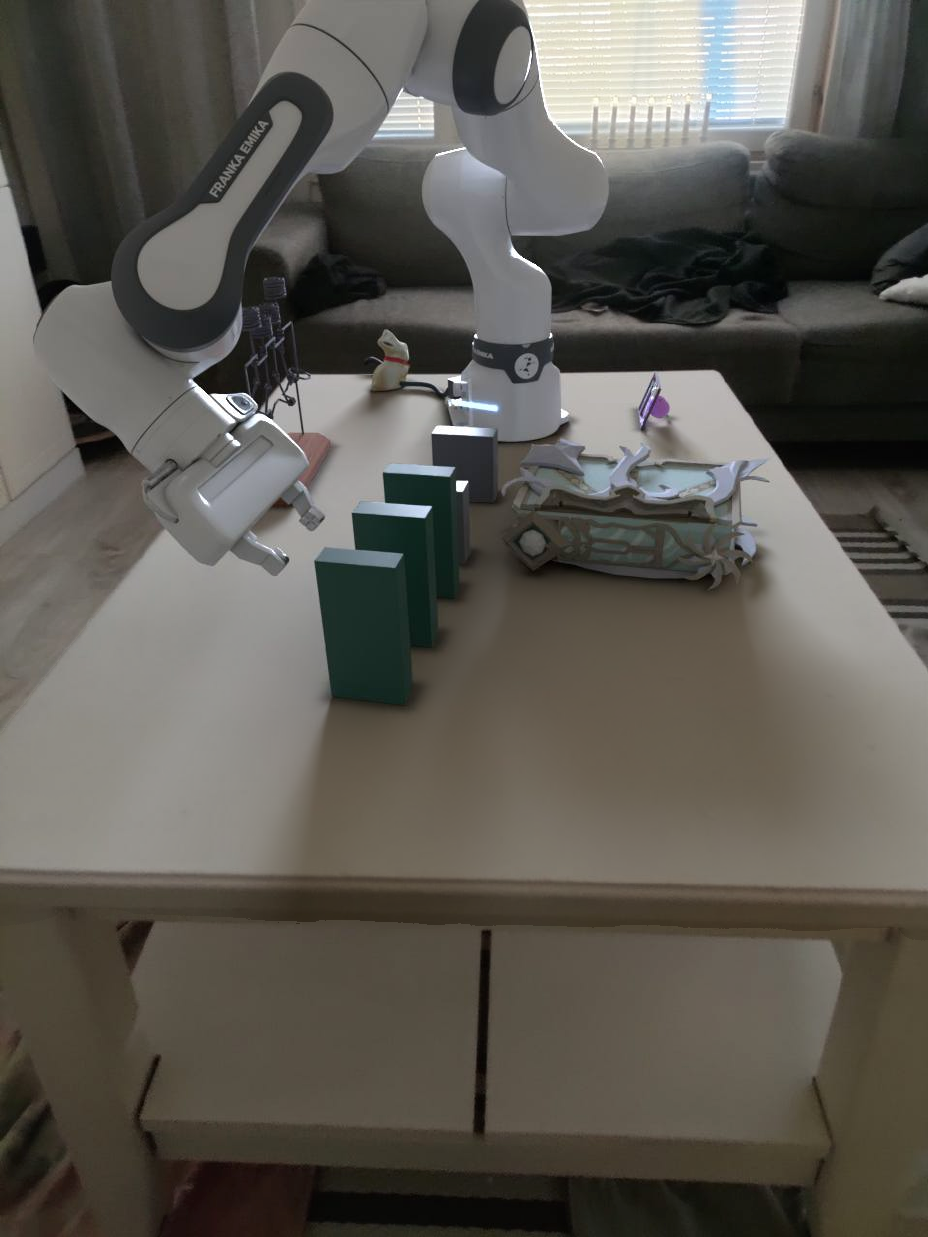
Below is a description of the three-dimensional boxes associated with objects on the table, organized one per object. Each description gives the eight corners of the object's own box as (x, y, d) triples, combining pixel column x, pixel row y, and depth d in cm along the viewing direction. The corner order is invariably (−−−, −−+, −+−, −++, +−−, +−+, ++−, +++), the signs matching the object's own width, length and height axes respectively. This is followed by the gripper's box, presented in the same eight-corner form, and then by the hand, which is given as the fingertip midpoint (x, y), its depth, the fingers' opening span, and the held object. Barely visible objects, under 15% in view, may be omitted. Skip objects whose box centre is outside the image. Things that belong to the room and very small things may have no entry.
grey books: (439, 489, 119) (436, 425, 115) (497, 493, 118) (497, 428, 113) (397, 558, 103) (392, 486, 98) (464, 564, 101) (462, 491, 96)
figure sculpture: (283, 434, 139) (259, 265, 126) (337, 434, 138) (319, 265, 125) (211, 535, 109) (170, 328, 96) (279, 536, 108) (248, 328, 95)
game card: (650, 369, 141) (654, 386, 133) (681, 380, 141) (686, 398, 134) (633, 407, 144) (636, 427, 137) (663, 418, 145) (667, 438, 137)
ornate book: (492, 582, 99) (772, 601, 92) (488, 503, 94) (784, 517, 87) (527, 500, 118) (763, 510, 111) (526, 430, 113) (773, 436, 106)
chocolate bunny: (416, 387, 158) (413, 329, 152) (373, 392, 156) (368, 334, 150) (408, 378, 162) (404, 322, 157) (366, 383, 160) (361, 327, 155)
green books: (398, 581, 98) (389, 462, 91) (459, 586, 97) (456, 466, 89) (331, 696, 80) (313, 560, 73) (405, 705, 79) (395, 568, 72)
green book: (372, 626, 90) (360, 500, 83) (438, 633, 89) (432, 506, 82) (364, 640, 88) (351, 512, 81) (432, 647, 87) (425, 518, 79)
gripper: (149, 464, 72) (278, 579, 75) (254, 388, 89) (355, 484, 92) (113, 510, 75) (237, 619, 78) (220, 428, 92) (319, 520, 95)
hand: (302, 545), depth 85 cm, fingers open, 8 cm apart
